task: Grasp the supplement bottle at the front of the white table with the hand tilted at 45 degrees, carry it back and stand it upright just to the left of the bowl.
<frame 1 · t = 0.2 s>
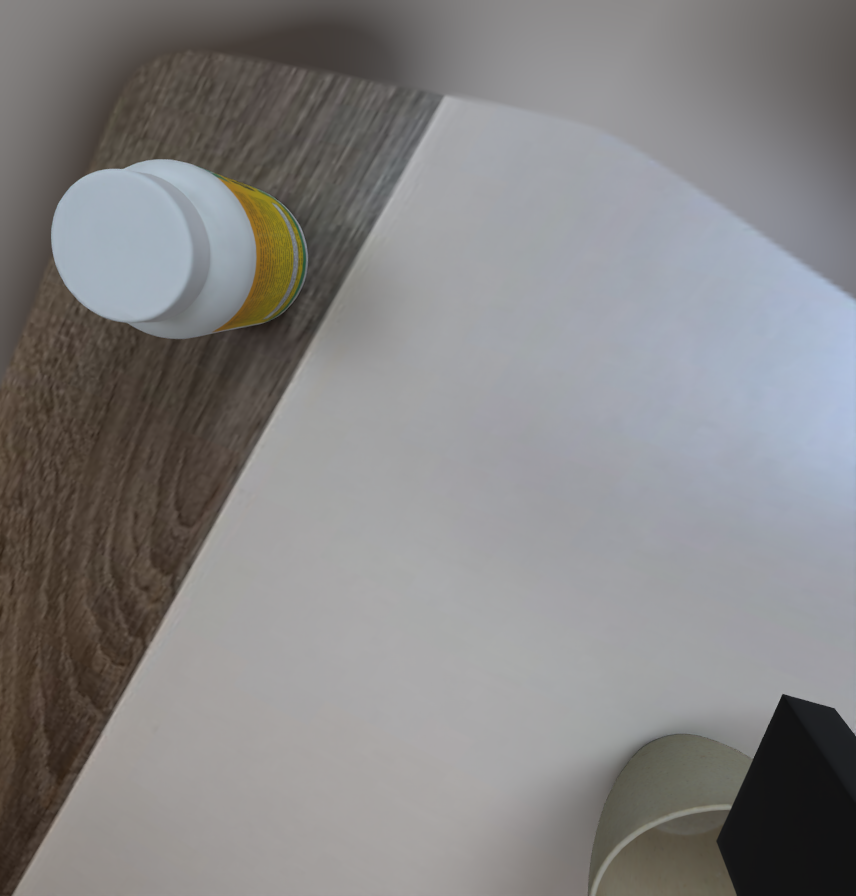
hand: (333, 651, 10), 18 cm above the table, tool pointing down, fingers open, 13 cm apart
supplement bottle: (249, 257, 27), on the table
bowl: (679, 777, 31), on the table
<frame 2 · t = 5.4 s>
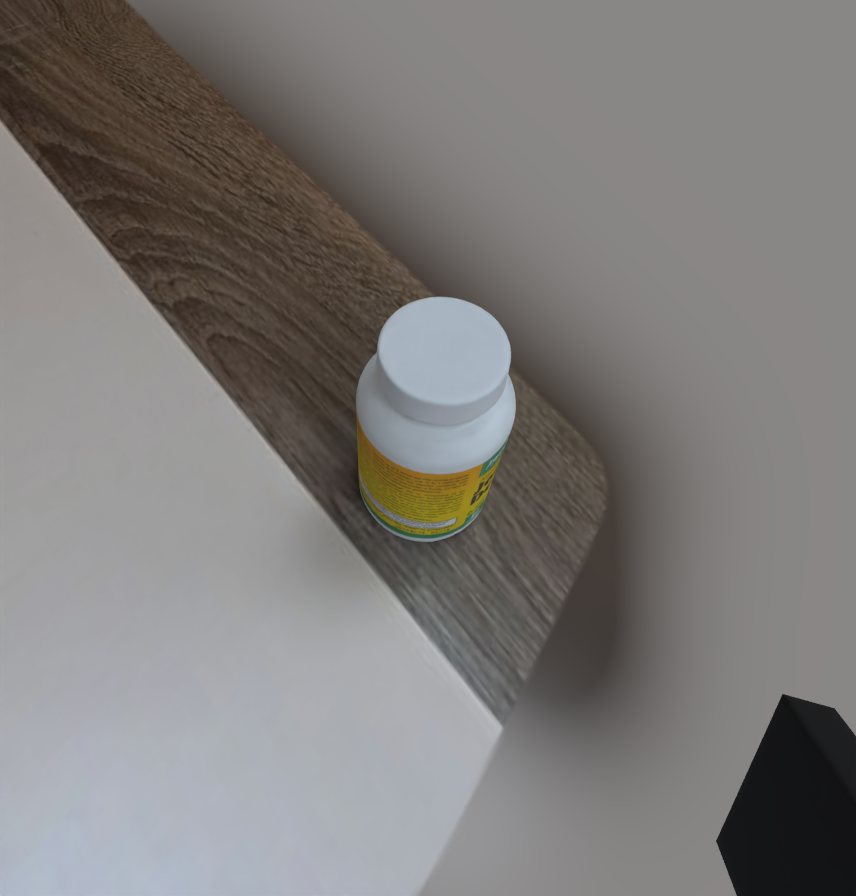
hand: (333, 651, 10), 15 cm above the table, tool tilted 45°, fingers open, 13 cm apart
supplement bottle: (422, 488, 29), on the table
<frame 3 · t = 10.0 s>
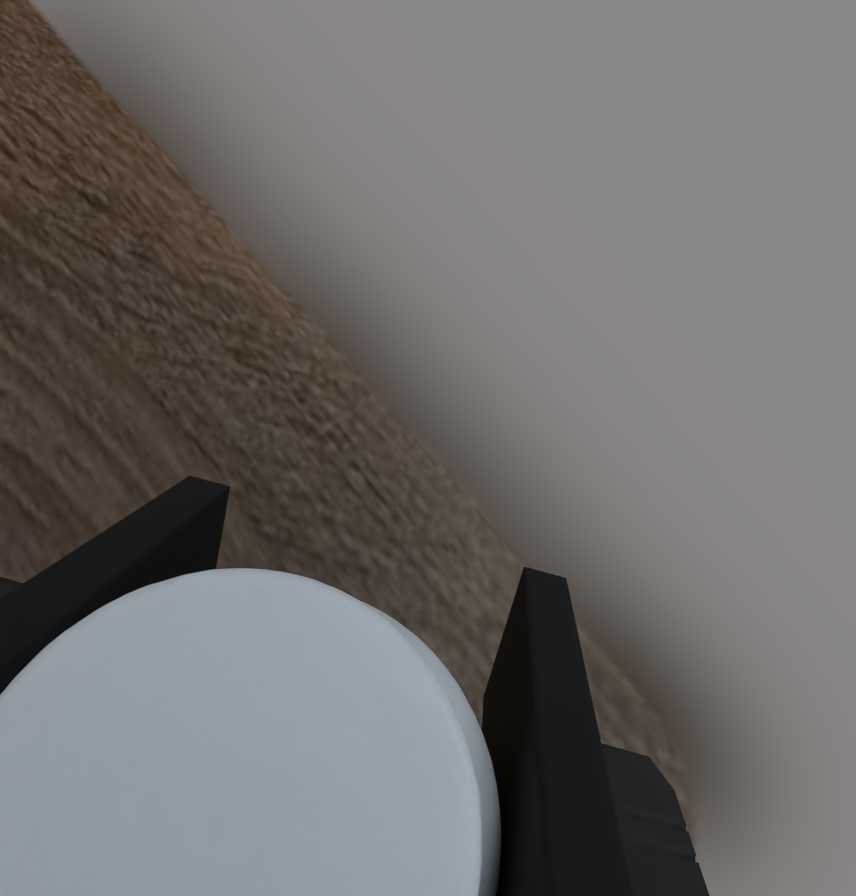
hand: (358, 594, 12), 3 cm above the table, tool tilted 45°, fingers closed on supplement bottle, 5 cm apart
supplement bottle: (303, 822, 13), on the table, touching gripper
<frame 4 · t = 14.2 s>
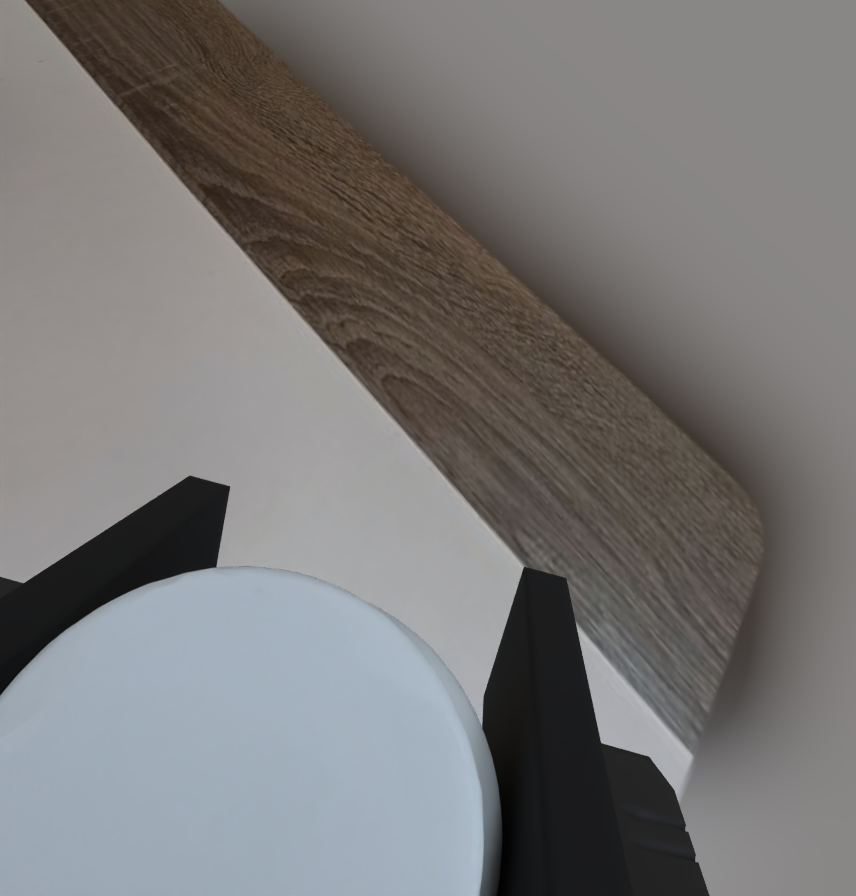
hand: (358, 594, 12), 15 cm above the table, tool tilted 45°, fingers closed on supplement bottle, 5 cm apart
supplement bottle: (304, 821, 13), point 12 cm above the table, touching gripper
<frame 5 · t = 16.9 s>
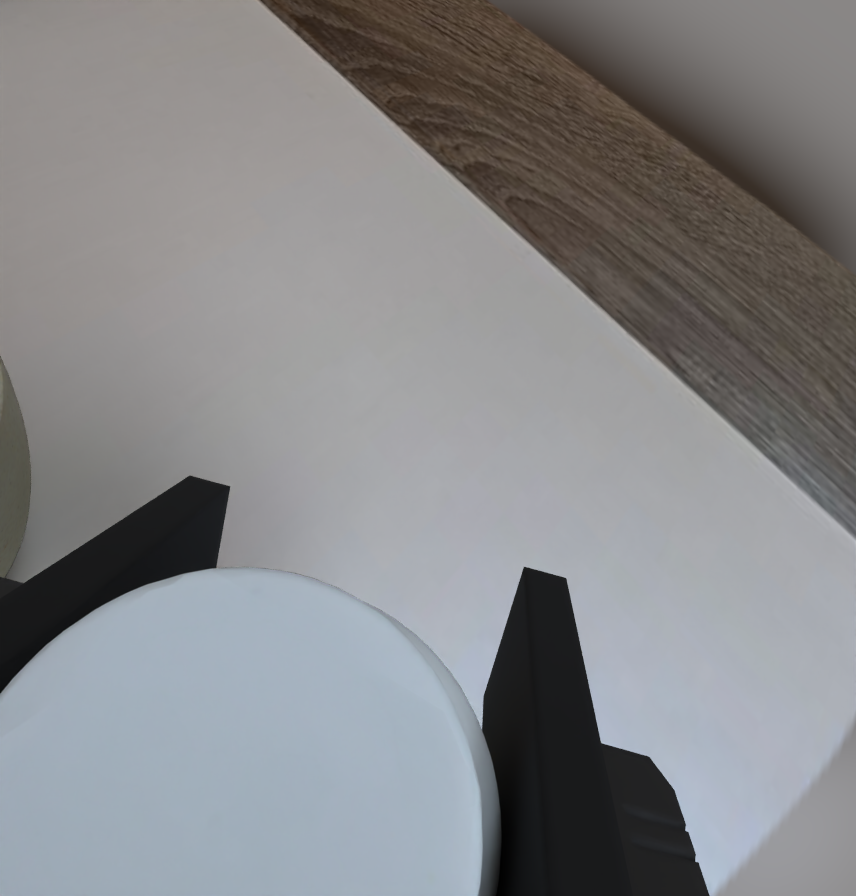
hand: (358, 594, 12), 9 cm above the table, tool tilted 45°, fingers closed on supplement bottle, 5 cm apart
supplement bottle: (303, 821, 13), point 5 cm above the table, touching gripper
when the fingers open (3 cm above the table, at t = 18.9 s): supplement bottle stays where it is, on the table.
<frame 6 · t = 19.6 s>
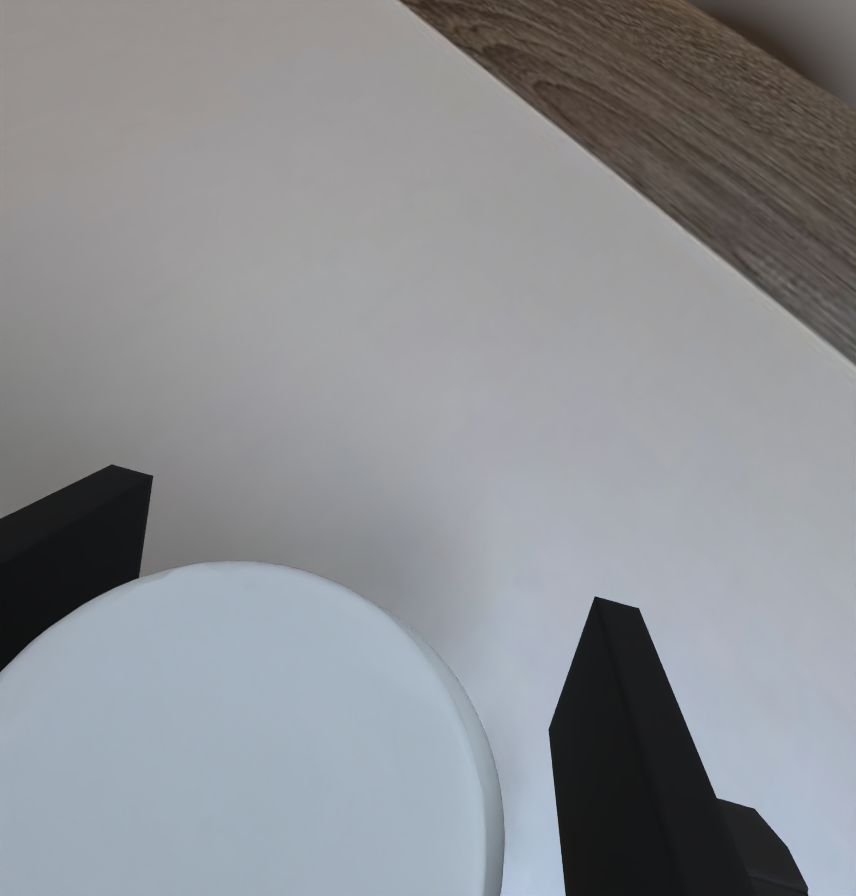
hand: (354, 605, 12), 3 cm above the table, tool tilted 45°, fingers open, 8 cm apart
supplement bottle: (301, 823, 13), on the table
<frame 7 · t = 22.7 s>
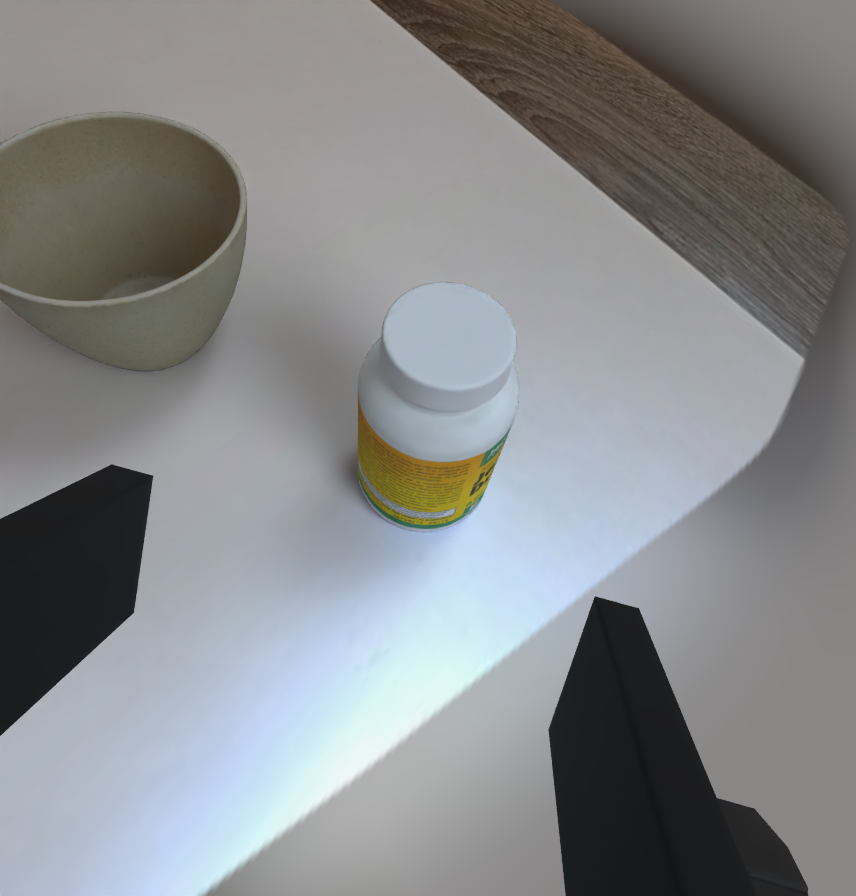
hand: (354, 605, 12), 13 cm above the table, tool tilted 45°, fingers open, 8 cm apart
supplement bottle: (421, 478, 28), on the table
bowl: (155, 327, 31), on the table
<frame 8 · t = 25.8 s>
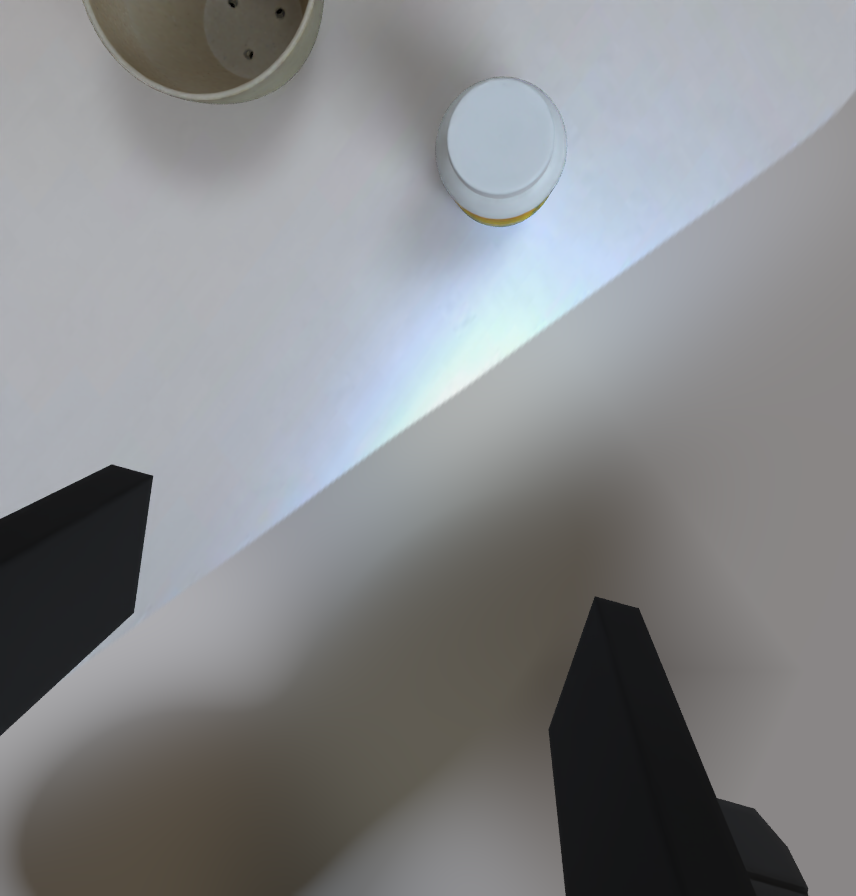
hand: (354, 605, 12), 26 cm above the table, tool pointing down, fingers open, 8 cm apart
supplement bottle: (500, 173, 34), on the table
bowl: (258, 26, 34), on the table
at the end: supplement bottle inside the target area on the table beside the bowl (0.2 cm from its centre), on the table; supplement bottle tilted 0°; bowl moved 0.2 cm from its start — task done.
